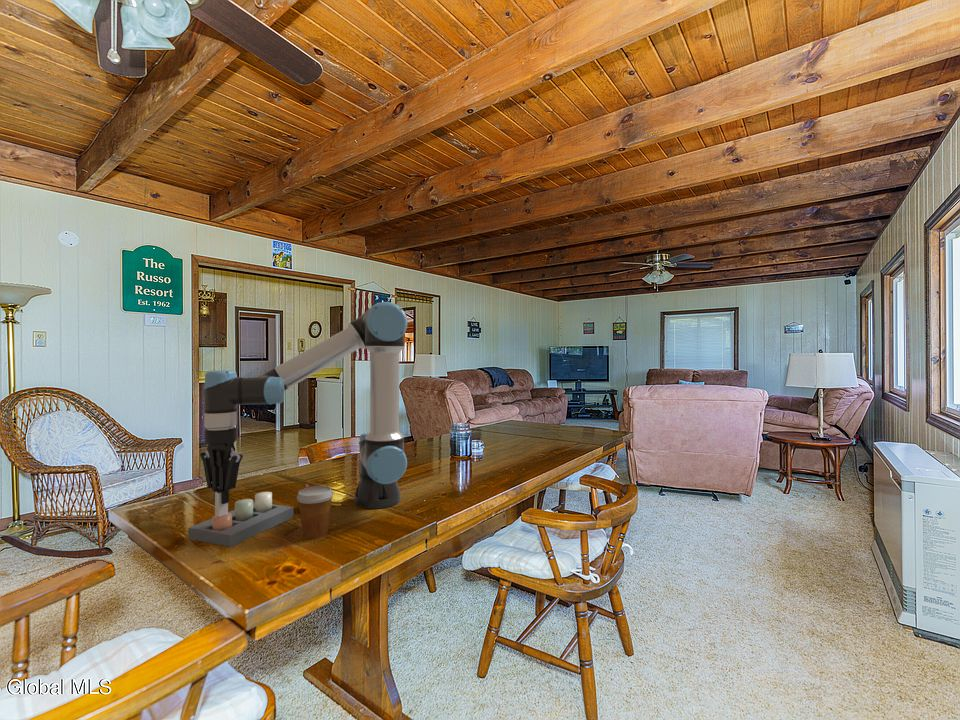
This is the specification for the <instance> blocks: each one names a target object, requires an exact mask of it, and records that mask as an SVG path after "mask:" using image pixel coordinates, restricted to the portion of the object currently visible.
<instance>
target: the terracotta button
mask: <svg viewBox="0 0 960 720" xmlns="http://www.w3.org/2000/svg"><path fill="white" fill-rule="evenodd" d="M211 519H212V528H213V530H217V531H222V530H225V529H227V528H229V527H232V513H228V514H226V515H223V516H221V517H216V516H215V514H214V515H213V516H212V518H211Z"/></svg>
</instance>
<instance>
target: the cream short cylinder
mask: <svg viewBox="0 0 960 720" xmlns="http://www.w3.org/2000/svg"><path fill="white" fill-rule="evenodd" d="M254 502H255V512H260V513H265V512H267V511H269V510H272V504H273V492H272V491H260V492H257V493H256V494H254Z"/></svg>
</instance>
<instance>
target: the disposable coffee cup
mask: <svg viewBox="0 0 960 720" xmlns="http://www.w3.org/2000/svg"><path fill="white" fill-rule="evenodd" d="M303 488H304V487H303ZM301 489H302V488H301ZM301 489H299V490H298V493H297V495H296V501H297V500H298V501H297V503H298V502H299V503H298V507H299V514H300V520H301V528H302V535H303V537H304V538H305V539H310V540H311V539H319V538H322V537H325V536H326V535H327V534H328V532H329V526H330V525H329V524H330V516H331V508H332V499H333V496H334V493H335V492H333V490H332V489H333V488H332V487H331V486H327V485H314V486H310V487H307V488H304V489H302V490H301Z"/></svg>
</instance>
